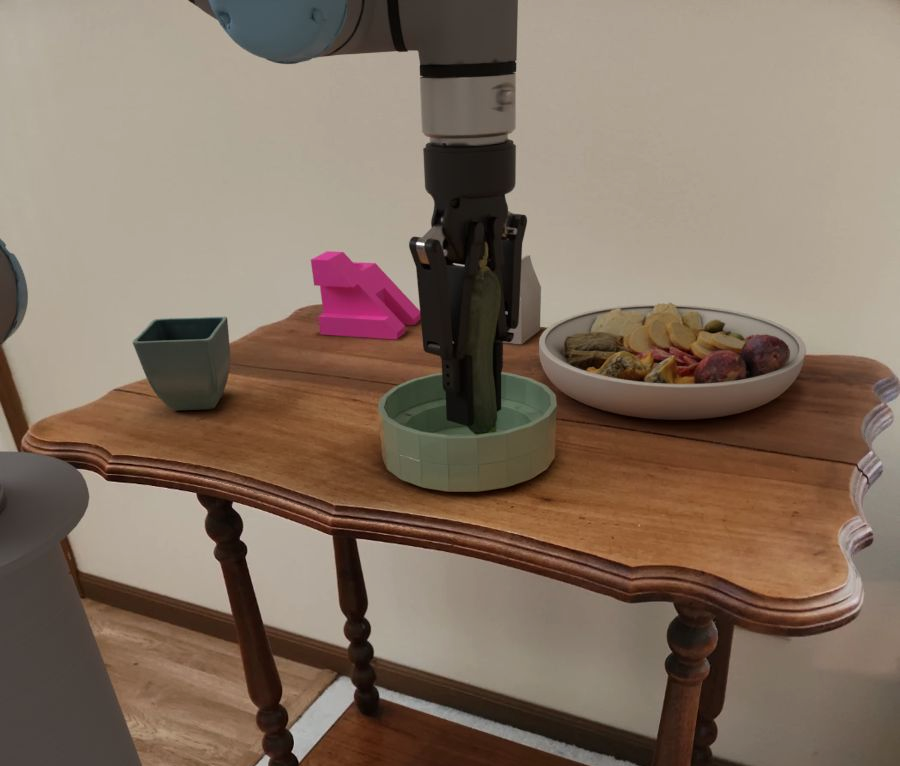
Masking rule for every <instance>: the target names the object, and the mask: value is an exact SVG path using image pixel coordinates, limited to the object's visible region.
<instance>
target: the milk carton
mask: <svg viewBox="0 0 900 766" xmlns="http://www.w3.org/2000/svg"><path fill="white" fill-rule="evenodd" d="M535 271H536V270H535V269H534V266H533V263H532V258H531V254H526V255H525V256H522V259H521V281H520V303H519V322H518V326H517V328H516V329H510V330H509V331H508V332H511V333H514V337H513V340H512V341H511V342H505V341H503V343H504V344H505V343H506V344H513V345H523V344H524V343H525V342H526V341H528V340H529V339H531V338H532V337H533V336H535V335H536V334H537V333H539V332H540V331H541V308H542V306H541V304H542V286H541V283H540V280H539V278H538V277H537V274H536V272H535ZM505 314H508V312H507V311H505Z"/></svg>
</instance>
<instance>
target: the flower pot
mask: <svg viewBox="0 0 900 766" xmlns="http://www.w3.org/2000/svg"><path fill="white" fill-rule="evenodd" d="M228 322H229V321H228V317H227V316H204V317H172V318H171V317H169V318H167V317H166V318H155V319H153V320H152V321H151V322H149V324H148V325H147V326H146V327H145V328H144V329H143V330H142V331H141V332H140V333H139V335H138V336H137V337H135V338H134V339H133V340H132V345H133V348H134V350H135V353H136V355H137V358H138V361H139V362H140V363H139V364H140V366H141V367H142V368H141V369H142V370H143V373H144V375H145V378H146V381H147V382H148V384H149V385H150V387H151V389H152V390H153V392H154V393H155V394H156V396H157V397H158V398H159V400H160V401H161V402H163V404H165V405H166V406H167V407H168V408H169V409H170V410H171V411H194V410H195V411H198V410H201V411H202V410H213V409H215V408H216V407H217V405H218V403H219V401H220V400H221V398H222V396H223V395H224V392H225V389H226V386H227V382H228V378H229V375H230V369H231V347H230V334H229V323H228Z"/></svg>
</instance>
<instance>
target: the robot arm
mask: <svg viewBox="0 0 900 766" xmlns="http://www.w3.org/2000/svg"><path fill="white" fill-rule="evenodd" d="M187 1H188V2H189V3H191V4H193V5H194V6H196V7H197V8H198V9H200V10H201V11H203V12H204V13H205V14H207V15H208V16H210V17H211V18H213V19H215V20H217V22H218V23H219V25H220V26H221V28H222V29H223V31H224V32H225V33H226V34H227V35H228V36H229V38H230V39H231V40H232V41H233V42H234V43H235V44H236V45H238V46H239V47H240V48H241V49H243V50H245V51H246V52H248V53H249V54H252V55H253V56H256V57H258V58H262V59H265V60H267V61H269V62H272V63H275V64H281V65H296V64H299V63H303V62H309V61H311V60H312V59H316V58H325V57H335V56H342V55H343V56H345V55H346V56H347V55H361V54H374V53H375V54H377V53H378V54H379V53H391V52H398V53H408V52H412V51H415V52H416V51H417V53H418V54H417V55H418V60H419V76H420V77H419V90H420V95H419V96H420V117H421V119H420V120H421V132H422V133H423V135H424V136H425V137H427V138H429V142H427V143H425V147H423V149H422V151H423V153H422V154H423V173H424V174H423V175H424V188H425V191H426V193H427V194H429V195H430V196H431V198H432V199H433V212H432V216H431V218H430V219H431V220H430V226H431V227H430V229H429V230H428V231H426V233H425V234H424V235H422V236H412V237H411V238H410V239H409V242H408V247H409V251H410V254H411V257H412V259H413V262H414V265H415V272H416V281H417V291H418V292H417V293H418V303H419V311H420V316H421V320H420V325H421V337H422V347H423V352H425V353H427V354H430V355H434V356H439V357H440V360H441V373H442V375H443V376H442V384H443V389H444V391H446V416H447V420H448V421H451V422H455V423H458V424H461V425H465V426H468V427H469V426H471V425H473V371H472V356H469V355H465V354H466V345H467V334H468V323H469V312H470V301H471V290H472V280H473V278H474V277H476V275H477V273H478V264H479V260H483V257H484V252H485V241H486V243H487V244H488V257H487V265H486V266H488V267H489V268H490V270H491V271H492V272H494V273H495V274H496V276H497V278H498V281H499V284H500V289H501V301H500V309H499V314H498V320H497V325H496V331H495V337H494V343H493V376H494V383H495V392H496V406H497V412H498V411H500V410H501V372H503V368H504V343H505V342H511V341H512V340H513V337H514V333H511V332H508V331H509V330H510V329H516V328H517V326H518V322H519V303H520V281H521V259H522V258H523V256H522V255H523V242H524V237H525V234H526V229H527V225H528V217H527V215H526V214H520V213H513V212H511V211H510V210H509V206H508V203H507V199H506V195H508V194H509V193H511V192H512V191H513V190H514V189H515V187H516V183H517V182H516V181H517V180H516V174H517V173H516V172H517V164H516V163H517V145H516V144H515V142H514V141H513V140H512V139H509V135H510V134H512V133H513V132H515V130H516V129H517V127H516V126H517V125H516V120H517V117H516V116H517V114H516V111H517V109H516V108H517V107H516V105H517V104H516V103H517V102H516V101H517V99H516V98H517V94H516V92H517V90H516V89H517V88H516V87H517V82H516V81H517V80H516V79H517V76H516V75H517V74H516V72H517V62H516V61H517V59H518V55H517V54H518V19H519V18H518V17H519V16H518V13H519V12H518V11H519V0H187ZM28 300H29V290H28V283H27V279H26V276H25V273H24V270H23V268H22V265H21V264H20V261H19V260H18V258H17V256H16V255H15V254H14V253H12V252H11V251H9V250H8V248H7V244H6V243H5V241H3V239H2V238H0V346H2V345H3V344H5V342H6V341H8V339H9V338H10V337H12V336H13V335H14V334H15V333H16V332H17V331H18V329H19V328H20V326H21V325H22V323H23V321H24V319H25V316H26V314H27V309H28V304H29V301H28ZM505 311H507V312H508V314H505ZM503 341H505V342H503ZM6 502H7V498H6V495H5V492H4V490H3V487H2V484H1V482H0V514H1V513H2V511H3V510H4V508H5V506H6Z"/></svg>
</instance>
